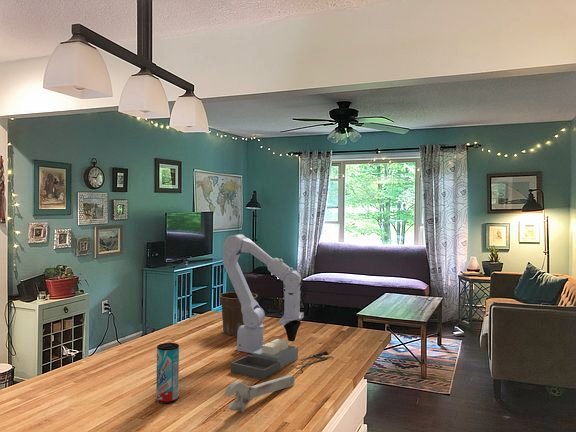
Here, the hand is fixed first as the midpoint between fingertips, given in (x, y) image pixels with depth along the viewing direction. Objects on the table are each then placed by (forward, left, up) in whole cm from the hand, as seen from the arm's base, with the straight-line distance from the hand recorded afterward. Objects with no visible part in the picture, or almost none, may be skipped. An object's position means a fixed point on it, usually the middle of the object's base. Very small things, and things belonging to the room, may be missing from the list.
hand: (291, 340), depth 172 cm
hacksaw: (+11, -5, -5) cm, 13 cm away
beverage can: (-7, -55, -5) cm, 56 cm away
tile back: (0, -8, -1) cm, 8 cm away
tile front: (0, -14, -1) cm, 14 cm away
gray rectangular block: (0, -11, -5) cm, 12 cm away
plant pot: (-33, +12, -5) cm, 36 cm away
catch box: (0, -23, -5) cm, 24 cm away
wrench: (+14, -40, -5) cm, 43 cm away
